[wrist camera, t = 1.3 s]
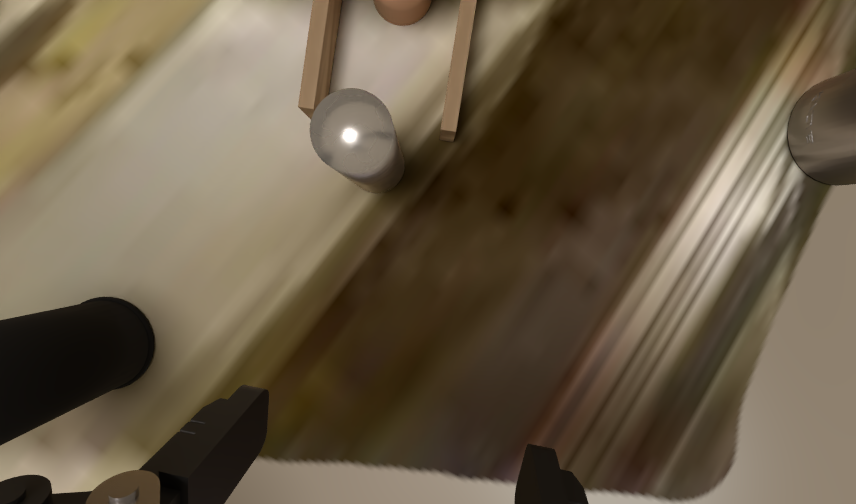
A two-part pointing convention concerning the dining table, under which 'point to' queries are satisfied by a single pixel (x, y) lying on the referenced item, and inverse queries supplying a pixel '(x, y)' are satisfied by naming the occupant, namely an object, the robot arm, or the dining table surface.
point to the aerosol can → (68, 360)
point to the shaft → (358, 139)
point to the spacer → (402, 10)
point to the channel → (324, 48)
